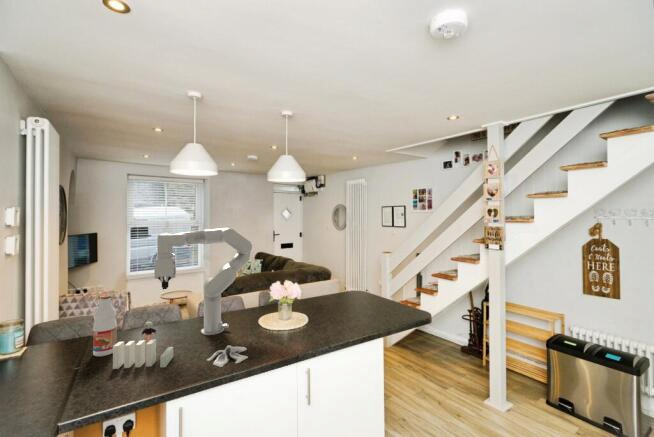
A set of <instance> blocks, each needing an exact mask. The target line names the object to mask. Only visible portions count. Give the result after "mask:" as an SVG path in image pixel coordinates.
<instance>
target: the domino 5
mask: <svg viewBox="0 0 654 437" xmlns="http://www.w3.org/2000/svg"><path fill="white" fill-rule="evenodd" d="M173 358H174V346H167V348H166V349H165V350H164V352H163V353H162V354H161V355H160V358H159V360H160V361H159V362H160V363H159V368H166V367H167V365H168V364H169V363H170V362H171V361H172V359H173Z"/></svg>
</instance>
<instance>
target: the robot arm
mask: <svg viewBox="0 0 654 437" xmlns="http://www.w3.org/2000/svg"><path fill="white" fill-rule="evenodd" d="M156 241H157V247H156V248H157V251H156V252H157V257H156V259H155V263H154V269H153V270H154V279H156V280H159V281H160V283H161V288H162V290H167V289H168V288H169V281H171V279H175V278H177V276H176V274H177V266H176V260H175V257H176V253H174V252H173V248H174V247H179V248H182V247H184V246H189V245H196V244H197V245H198V244H200V245H211V244H223V243H226V244H227V245H228V246H230V247H231V248H233V249H234V250H235V251H236V252H235V255H233V257H232V258H230V259H229V260H228V261H227V262H226V263H225V264H224V265H223V266H221V267H220V268H219V270H218V273H217V274H215V276H212V277H209V278H207V279H206V280H205V282H204V283H203V328H202V329H200V334H202V335H204V336H212V335H218V334H220V333H222V332H224V330H225V329H229V324H228V323H223V321H222V293H223V292H224V291H225V290H226V289H228V287H230V285H232V284H233V283H234V281H235V280H236V278H237V274H238V272H240V271H241V269H243V267H245V265H246V264H247V263H248V262H249V259H250V258H251V251H252V250H253V244H252V242H251V241H250V240H248V239H247V238H246V237H244V236H243V235H242V234H240V233H238V231H236V230H235V229H234V228H231V227H222V228H221V227H219V228H213V229H211V228H210V229H202V230H196V231H186V232H184V231H183V232H179V233H174V234H173V233H172V234H171V233H159V234H158V235H157V240H156Z"/></svg>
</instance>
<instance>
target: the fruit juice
mask: <svg viewBox="0 0 654 437" xmlns="http://www.w3.org/2000/svg"><path fill="white" fill-rule="evenodd" d="M111 299H112V295H111V294H104V295H100V296H99V297H98V300H99V304H98V306H97V308H96V309H95V311H94V313H93V319H94V322H93V327H92V343H93V344H92V353H93V356H95V357H105V356H109V355H111V354H112V355H113V346H114V345H115V344H117V343H118V339H117V338H118V336H117V334H118V331H117V329H118V325H117V324H118V323H117V319H116V316H117V309H116V308H115V307H114V306H113V304H112V302H111Z"/></svg>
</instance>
